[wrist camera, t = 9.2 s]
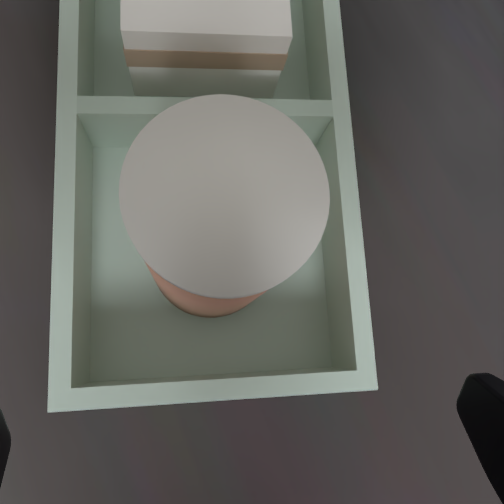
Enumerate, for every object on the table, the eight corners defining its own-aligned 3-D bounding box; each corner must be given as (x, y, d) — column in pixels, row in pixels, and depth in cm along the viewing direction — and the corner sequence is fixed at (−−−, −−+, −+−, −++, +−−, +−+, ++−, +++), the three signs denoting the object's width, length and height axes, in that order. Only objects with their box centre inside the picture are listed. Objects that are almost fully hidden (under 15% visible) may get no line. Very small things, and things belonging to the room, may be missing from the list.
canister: (258, 329, 22) (311, 316, 12) (137, 305, 22) (93, 271, 12) (279, 215, 23) (343, 121, 14) (165, 189, 23) (147, 72, 13)
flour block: (273, 98, 25) (293, 37, 20) (133, 96, 24) (119, 31, 19) (265, -20, 26) (282, -105, 21) (133, -27, 25) (119, -117, 20)
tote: (345, 382, 23) (378, 389, 19) (73, 400, 21) (47, 412, 17) (308, -51, 27) (327, -117, 24) (82, -65, 26) (63, -139, 22)
